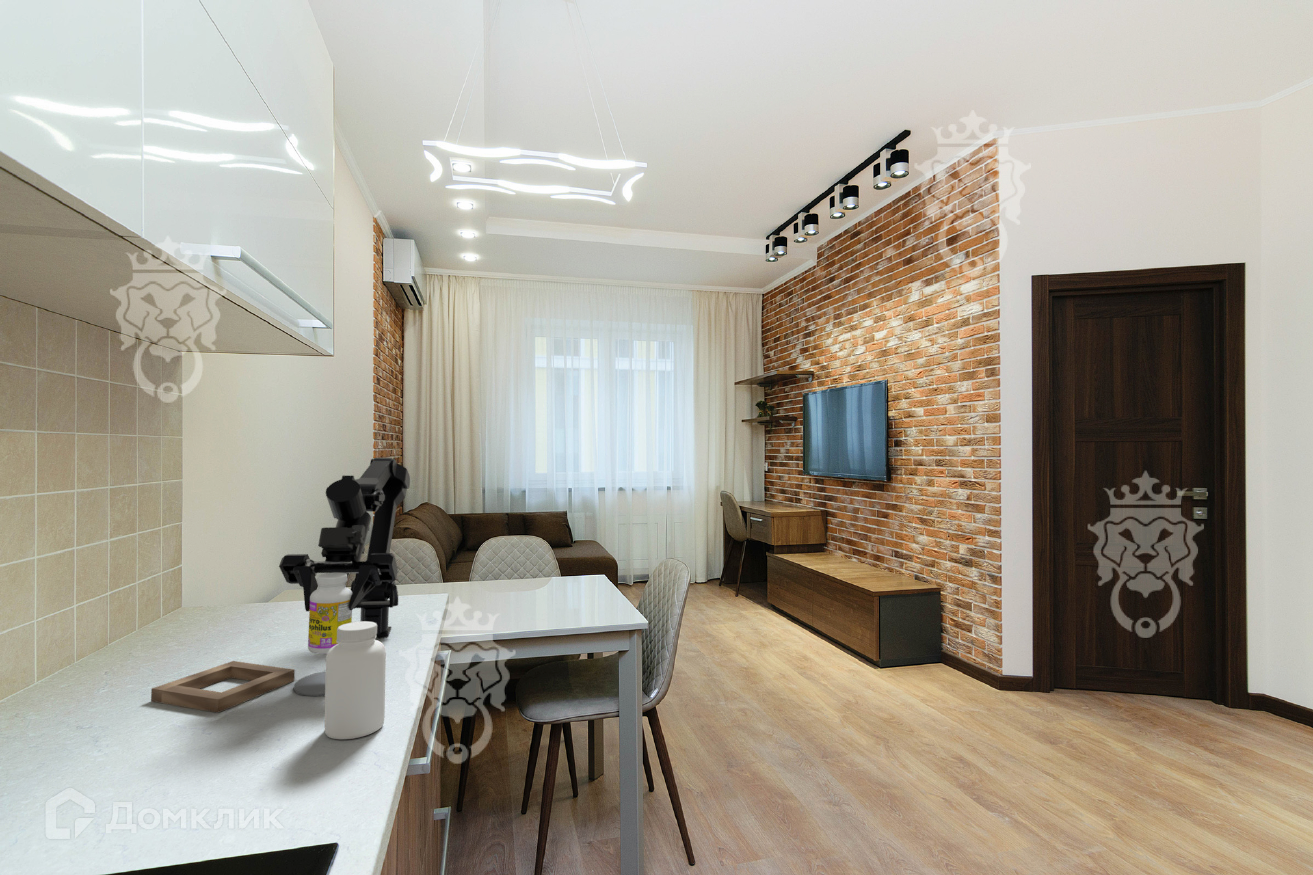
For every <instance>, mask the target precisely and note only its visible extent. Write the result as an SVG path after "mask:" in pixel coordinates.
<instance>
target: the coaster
mask: <svg viewBox="0 0 1313 875" xmlns="http://www.w3.org/2000/svg"><path fill="white" fill-rule="evenodd" d="M325 678H326V670H324V671H320V672H315V673H312V674H309V675H306V676H304V677H302V678H300V679H298V680H297V681H296V682H295V683H294V684H293V691H294V693H296V694H297V693H298V694H297V695H300V696H304V695H306V697H324V696H323V695H325Z"/></svg>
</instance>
